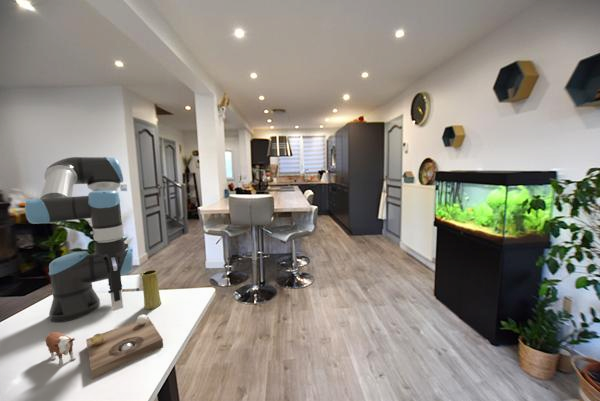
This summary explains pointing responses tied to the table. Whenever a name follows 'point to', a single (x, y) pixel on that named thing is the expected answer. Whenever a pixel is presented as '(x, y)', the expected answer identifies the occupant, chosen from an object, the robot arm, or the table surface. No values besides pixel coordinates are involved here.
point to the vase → (151, 289)
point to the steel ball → (126, 346)
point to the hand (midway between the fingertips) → (117, 308)
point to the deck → (110, 349)
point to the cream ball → (141, 319)
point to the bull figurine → (59, 345)
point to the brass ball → (97, 339)
